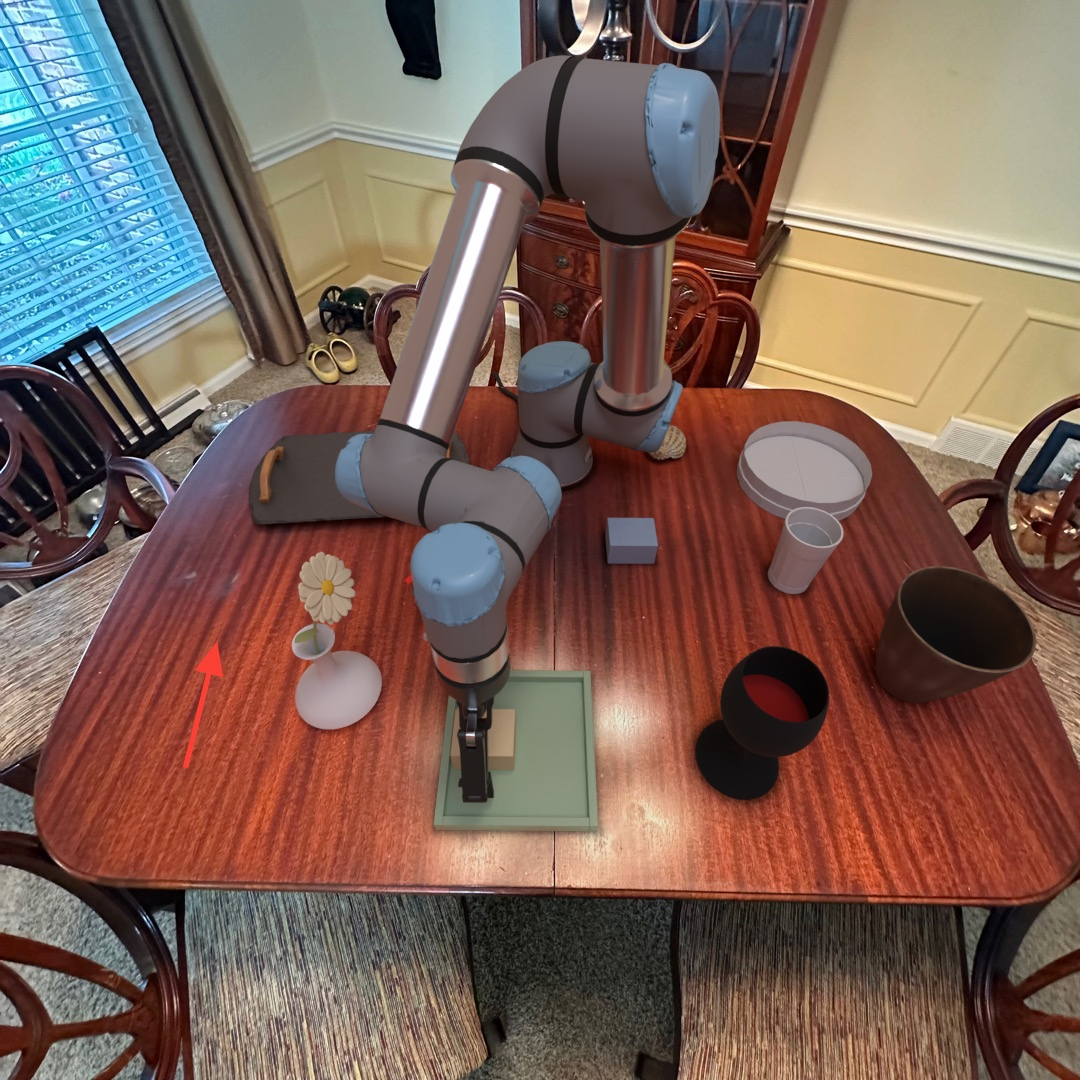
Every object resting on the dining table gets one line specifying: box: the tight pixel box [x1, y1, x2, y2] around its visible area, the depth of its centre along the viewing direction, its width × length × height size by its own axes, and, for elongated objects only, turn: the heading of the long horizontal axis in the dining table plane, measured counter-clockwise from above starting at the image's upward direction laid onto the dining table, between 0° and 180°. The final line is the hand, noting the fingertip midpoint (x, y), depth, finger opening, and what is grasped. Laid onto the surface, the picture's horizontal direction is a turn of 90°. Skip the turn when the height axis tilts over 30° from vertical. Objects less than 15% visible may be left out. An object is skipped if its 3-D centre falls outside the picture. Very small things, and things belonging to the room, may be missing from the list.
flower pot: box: [875, 565, 1037, 704], centre depth 77 cm, size 15×15×16 cm
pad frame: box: [433, 669, 599, 832], centre depth 76 cm, size 19×20×2 cm
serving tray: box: [248, 429, 471, 528], centre depth 107 cm, size 39×23×6 cm, turn 95°
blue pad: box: [604, 517, 659, 565], centre depth 97 cm, size 8×6×4 cm
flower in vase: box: [291, 551, 383, 730], centre depth 73 cm, size 13×11×25 cm
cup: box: [767, 507, 844, 595], centre depth 91 cm, size 8×8×12 cm
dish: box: [736, 420, 873, 522], centre depth 108 cm, size 22×22×5 cm
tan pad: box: [450, 709, 516, 770], centre depth 75 cm, size 8×6×4 cm
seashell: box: [648, 424, 687, 461], centre depth 114 cm, size 8×6×10 cm
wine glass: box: [695, 645, 830, 801], centre depth 69 cm, size 10×10×20 cm
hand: (486, 739), depth 75 cm, fingers open, 13 cm apart
